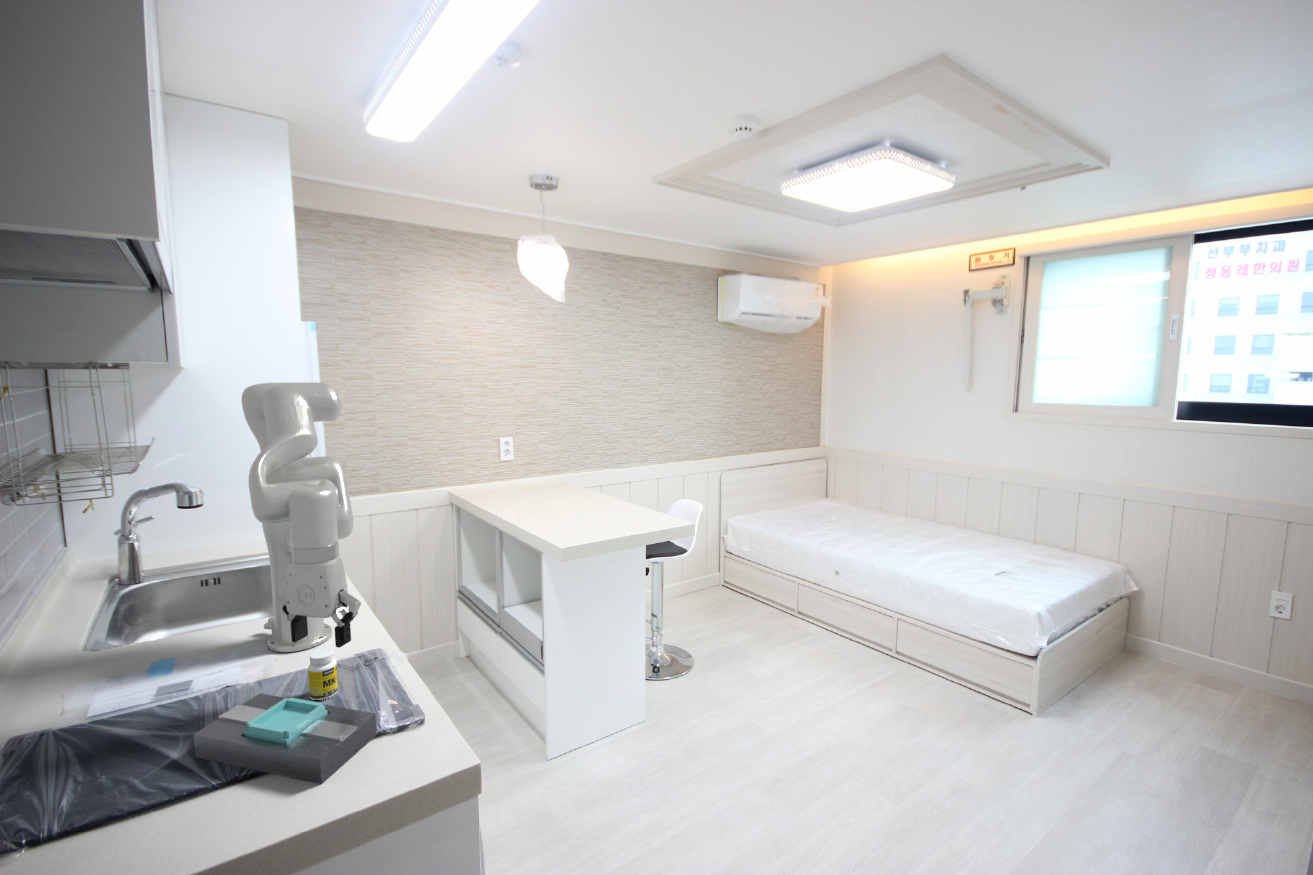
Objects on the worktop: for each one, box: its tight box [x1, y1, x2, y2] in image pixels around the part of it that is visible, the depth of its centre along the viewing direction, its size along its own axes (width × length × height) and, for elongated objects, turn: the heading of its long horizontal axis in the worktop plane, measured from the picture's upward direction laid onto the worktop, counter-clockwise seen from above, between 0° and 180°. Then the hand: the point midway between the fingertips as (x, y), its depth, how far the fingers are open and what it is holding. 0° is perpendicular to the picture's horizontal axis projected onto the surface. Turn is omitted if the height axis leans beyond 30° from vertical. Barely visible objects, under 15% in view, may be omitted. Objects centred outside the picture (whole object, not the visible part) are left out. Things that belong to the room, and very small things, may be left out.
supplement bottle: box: [307, 648, 339, 701], centre depth 111 cm, size 5×5×8 cm
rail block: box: [193, 693, 377, 785], centre depth 96 cm, size 24×12×4 cm, turn 77°
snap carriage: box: [244, 697, 328, 745], centre depth 96 cm, size 8×8×3 cm
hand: (321, 641), depth 109 cm, fingers open, 9 cm apart
